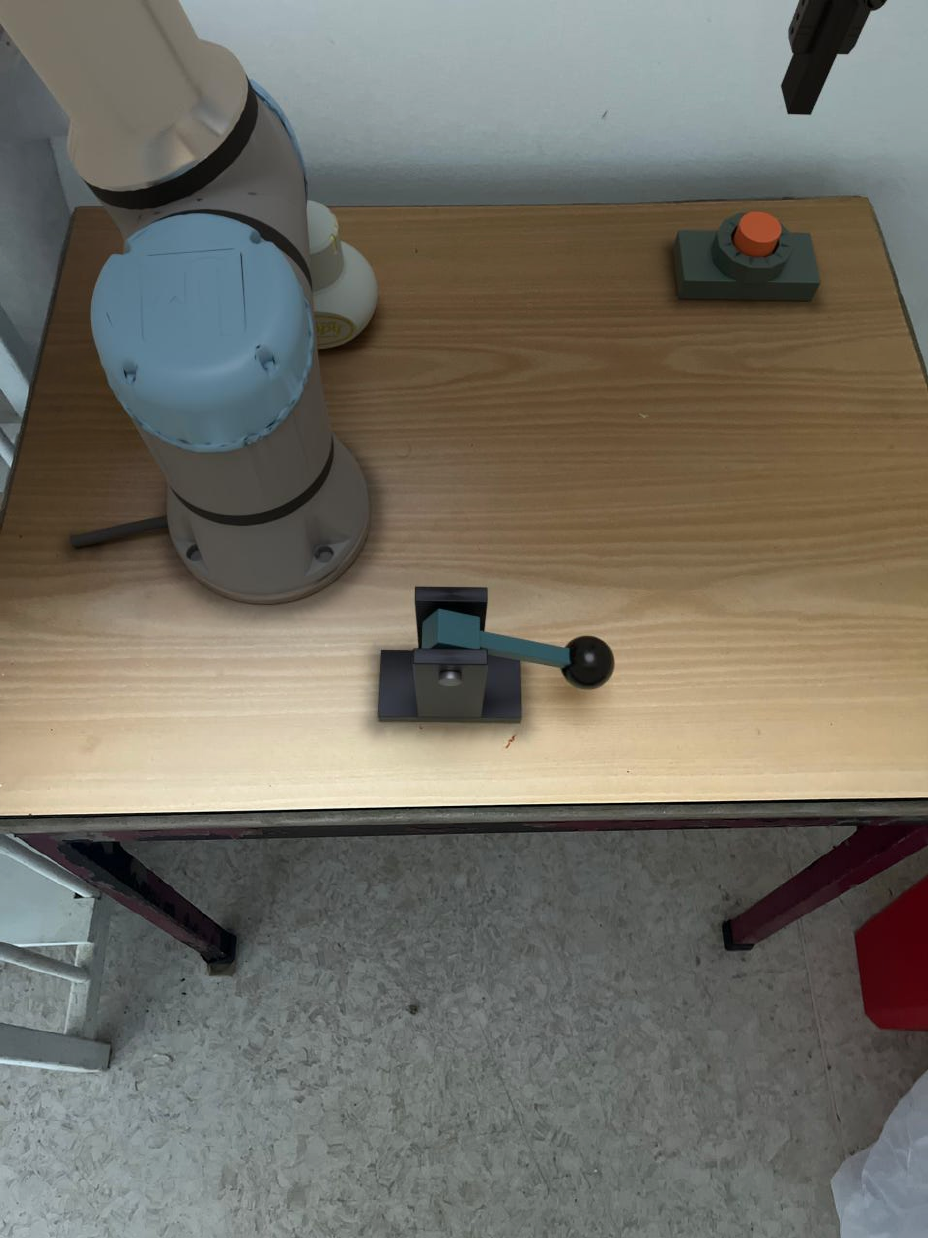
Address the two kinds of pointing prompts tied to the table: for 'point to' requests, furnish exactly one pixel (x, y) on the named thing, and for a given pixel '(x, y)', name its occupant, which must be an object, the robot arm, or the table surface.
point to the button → (757, 234)
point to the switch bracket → (449, 671)
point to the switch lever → (523, 648)
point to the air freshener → (337, 281)
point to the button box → (744, 266)
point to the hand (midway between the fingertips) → (795, 99)
